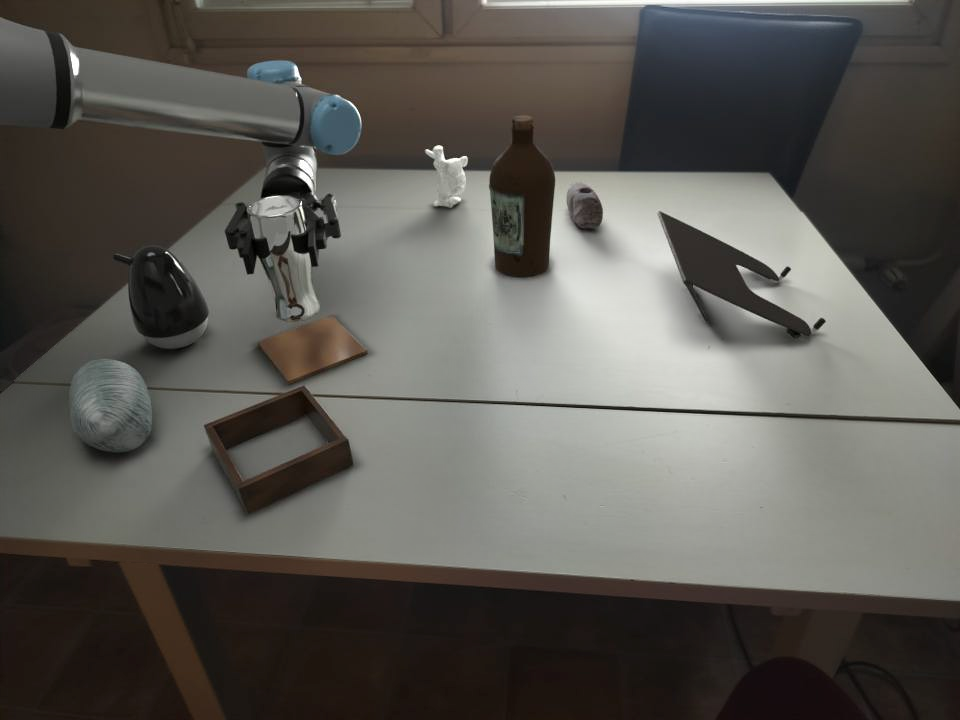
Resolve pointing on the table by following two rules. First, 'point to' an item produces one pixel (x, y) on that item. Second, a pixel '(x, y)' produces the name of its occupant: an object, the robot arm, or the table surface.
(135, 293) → the pump dispenser
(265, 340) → the cork mat
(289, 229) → the beer glass
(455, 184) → the white irregular figure
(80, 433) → the grey ovoid lump
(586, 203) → the perforated stone tool
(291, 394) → the frame
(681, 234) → the laptop tray
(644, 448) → the table surface
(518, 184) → the olive oil
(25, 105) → the robot arm
